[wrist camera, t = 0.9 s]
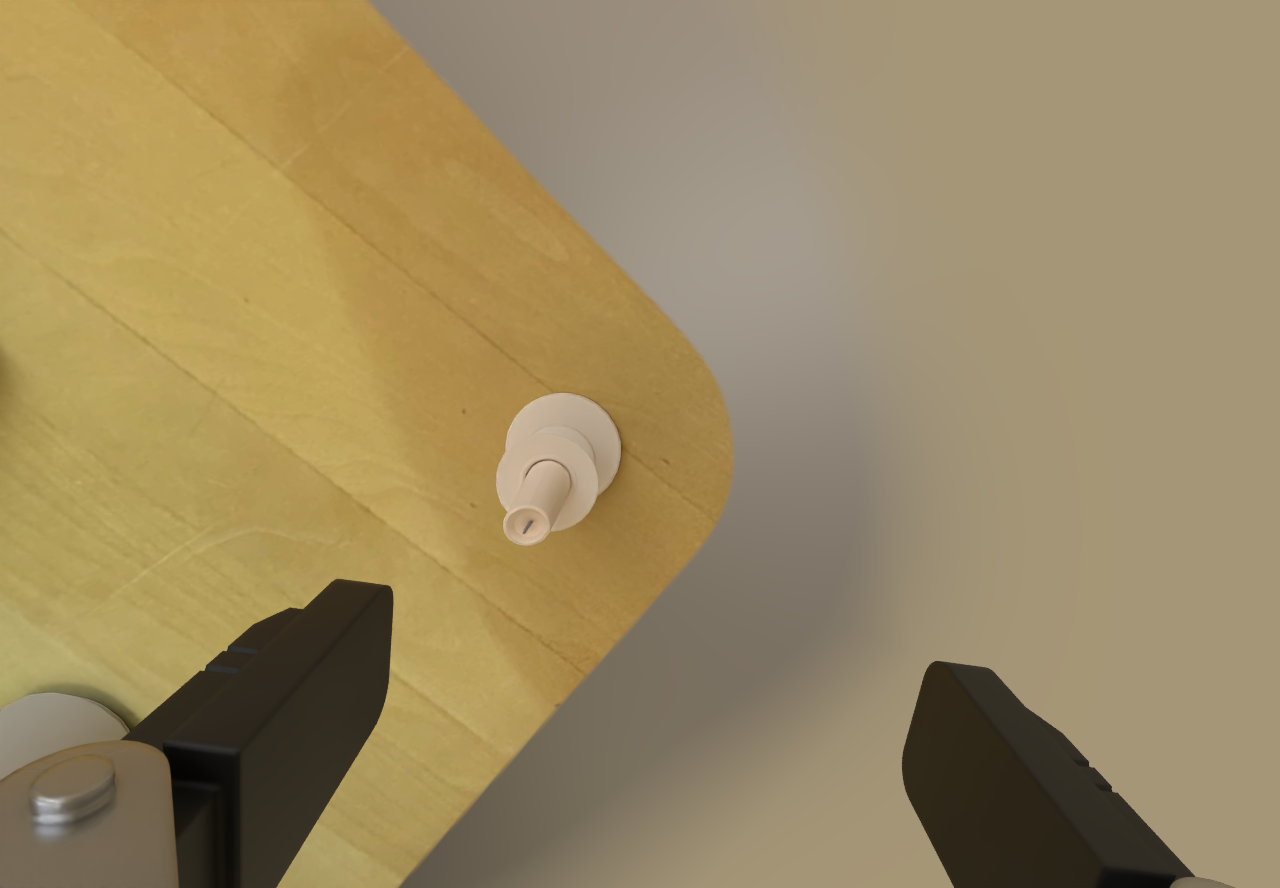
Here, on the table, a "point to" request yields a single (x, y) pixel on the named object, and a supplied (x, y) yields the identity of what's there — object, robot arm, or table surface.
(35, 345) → the table surface
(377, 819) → the table surface
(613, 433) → the candle
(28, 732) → the can
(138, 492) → the table surface
